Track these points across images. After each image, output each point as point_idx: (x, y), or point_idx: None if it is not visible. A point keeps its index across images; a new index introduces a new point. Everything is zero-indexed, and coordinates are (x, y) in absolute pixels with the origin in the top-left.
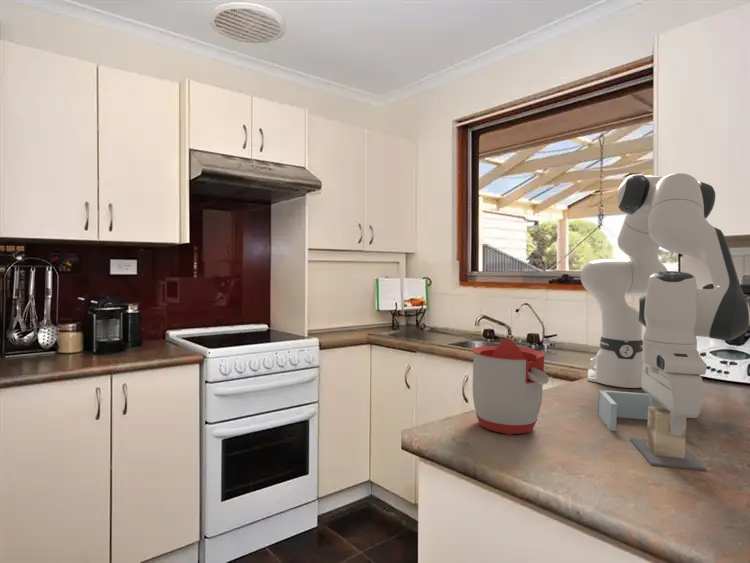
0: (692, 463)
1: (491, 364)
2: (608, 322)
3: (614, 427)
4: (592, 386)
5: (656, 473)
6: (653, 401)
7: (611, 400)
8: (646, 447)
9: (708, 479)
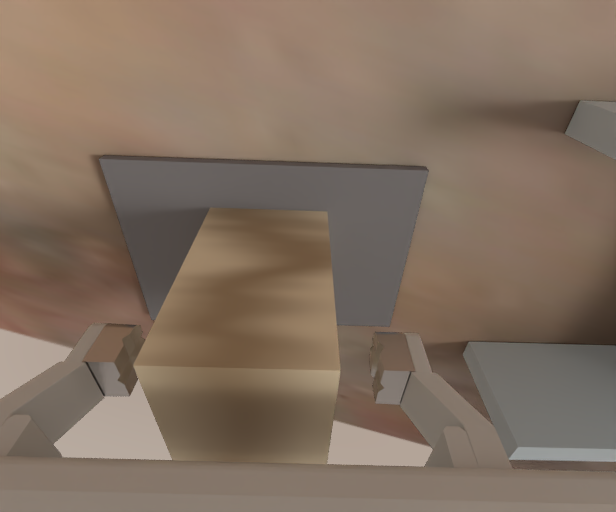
0: None
1: None
2: None
3: (581, 130)
4: None
5: (8, 146)
6: (449, 425)
7: None
8: (303, 203)
9: (77, 295)
